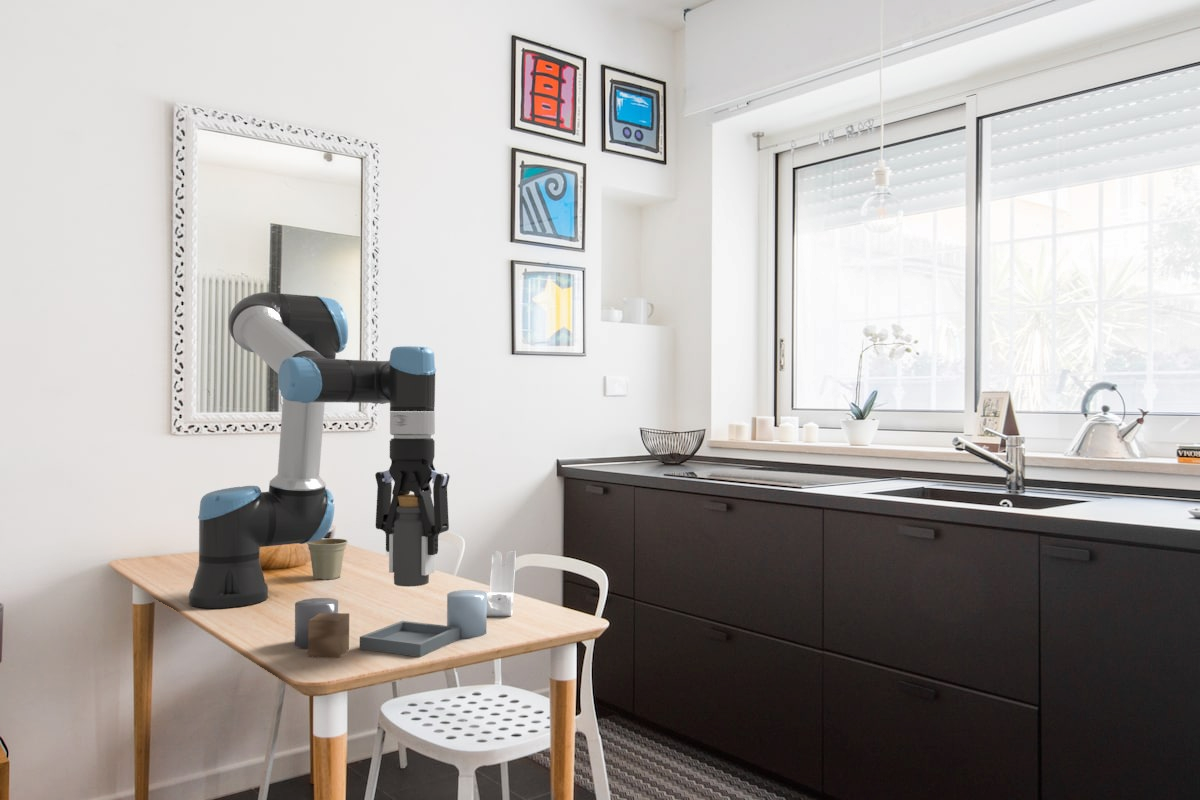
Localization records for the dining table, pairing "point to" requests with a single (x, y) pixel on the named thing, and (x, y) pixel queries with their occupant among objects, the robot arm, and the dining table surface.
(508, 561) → the plastic part
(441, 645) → the tray
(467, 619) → the light blue cylinder
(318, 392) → the robot arm
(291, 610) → the dining table surface
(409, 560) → the bottle
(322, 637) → the walnut block
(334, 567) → the flower pot
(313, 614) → the gray domed object
